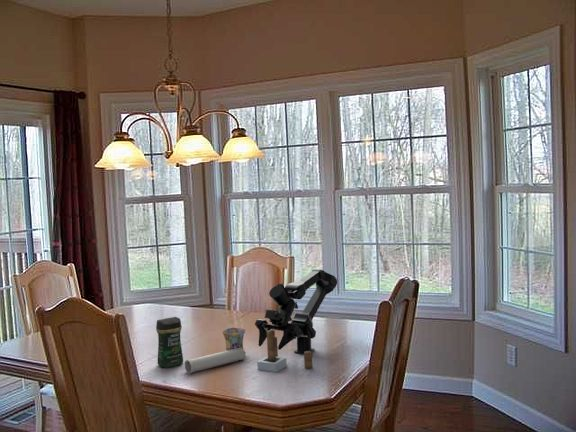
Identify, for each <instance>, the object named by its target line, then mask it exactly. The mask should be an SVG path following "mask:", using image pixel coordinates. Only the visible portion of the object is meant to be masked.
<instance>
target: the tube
mask: <svg viewBox="0 0 576 432" xmlns="http://www.w3.org/2000/svg"><path fill="white" fill-rule="evenodd" d="M245 357H246V351H245V349H244V348H243V349H242V348H236V349H232V350H228V351H226V350H224V351H219V352H216V353H211V354H207V355H204V356H200V357H196V358H191V359H186V360H185V361H184V369H185V372H186V373H187V374H188V375H191V374H192V373H197V372H201V371H205V370H208V369H212V368H216V367H219V366H224V365H228V364H232V363H236V362H240V361H242V360H244V359H245ZM239 360H240V361H239Z"/></svg>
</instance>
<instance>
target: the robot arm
mask: <svg viewBox="0 0 576 432" xmlns="http://www.w3.org/2000/svg"><path fill="white" fill-rule="evenodd" d="M314 285H315V290H314V292H313V293H312V295H311V297H310V298H309V300H308V302H307V303H306V305H305V307H304V309H303V311H302V312H301V313H298V312H296V313H295V314H294V316H293V318H292V314H293V313H294V310H296V309H297V310H298V309H299V306H298V302H297V301H295V300H301V299H303V297H304V296H305V295H306V294H307V292H306V291H307V290H308V289H309V288H312V287H313V286H314ZM337 285H338V279H337V278H336V275H333V274H330V273H328V272H326V271H325V270H323V269H320V268H319V269H318V268H314V269H311V271H310V272H308V273H307V274H306V275H305V276H303V277H302V278H301V279H299V280H297V281H294V282H289V283H287V284H286V285H283V283H277V285H274V286H273V287H272V288H271V289H269V294H268V295H269V297H270V298H271V300H273V302H274V303H275V304H276V305H277V306H279V307H278V309H275V310H274V309H266V310H265V313H264V318H265V319H262V318H257V319H256V320H255V323H254V326H255V327H256V328H257V329H258V334H259V335H258V336H259V337H258V346H259V347H262V345H263V344H264V343H265V341H266V340H267V331H268V330H274V331H281V332H283V334H282V337H281V339H280V342H279V344H278V345H277V347H278V351H280V350H282V349H283V348H284V347H285V346H287V344H289V343H290V342H292V341H293V340H296V349H295V350H294V351H293V353H295V354H303V355H304V352H305V351H311V352H312V353H313V352H314V351H315V348H312V339H315V337H316V333H317V331H316V330H315V328H314V322H313V319H314V317H315V316H316V313H317V312H318V310H319V308H320V307H321V305H322V303H323V301H324V299H325V298H326V297H327V295H328V294H330V293H332V292H333V291H334V289H335V288H336V286H337ZM266 319H268V320H266ZM268 321H269V322H270V323H269V322H268ZM289 322H290V323H289Z"/></svg>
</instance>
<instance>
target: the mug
mask: <svg viewBox="0 0 576 432" xmlns="http://www.w3.org/2000/svg"><path fill="white" fill-rule="evenodd" d="M221 333H222V336H224V340H225V345H226V346H225V351H228V350H232V349H236V348H242V349H244V344H243V343H244V341H243V340H244V336H245V334H246V329H245V328H243V327H230V328H225V329H222V332H221Z"/></svg>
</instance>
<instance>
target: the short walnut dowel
mask: <svg viewBox="0 0 576 432" xmlns="http://www.w3.org/2000/svg"><path fill="white" fill-rule="evenodd" d="M303 359H304V361H303V363H304V369H305V370H312V369H313V351H312V352H311V351H305V352H304V354H303Z"/></svg>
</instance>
